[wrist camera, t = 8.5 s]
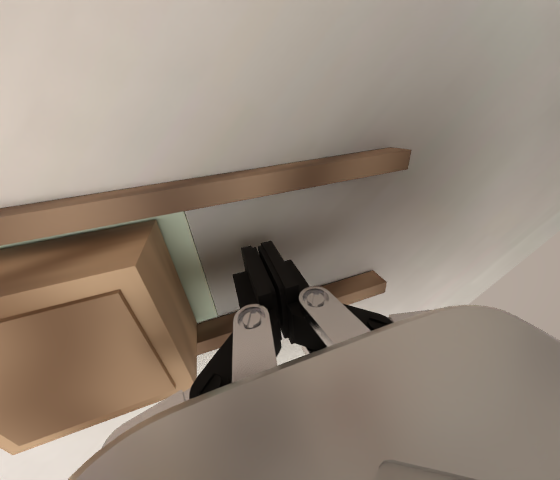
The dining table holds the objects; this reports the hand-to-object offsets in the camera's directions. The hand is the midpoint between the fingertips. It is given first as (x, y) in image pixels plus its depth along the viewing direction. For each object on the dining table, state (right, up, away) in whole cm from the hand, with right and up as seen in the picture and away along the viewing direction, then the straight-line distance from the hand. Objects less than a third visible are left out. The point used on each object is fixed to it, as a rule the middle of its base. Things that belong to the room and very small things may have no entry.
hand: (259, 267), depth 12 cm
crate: (-8, -1, -1) cm, 8 cm away
